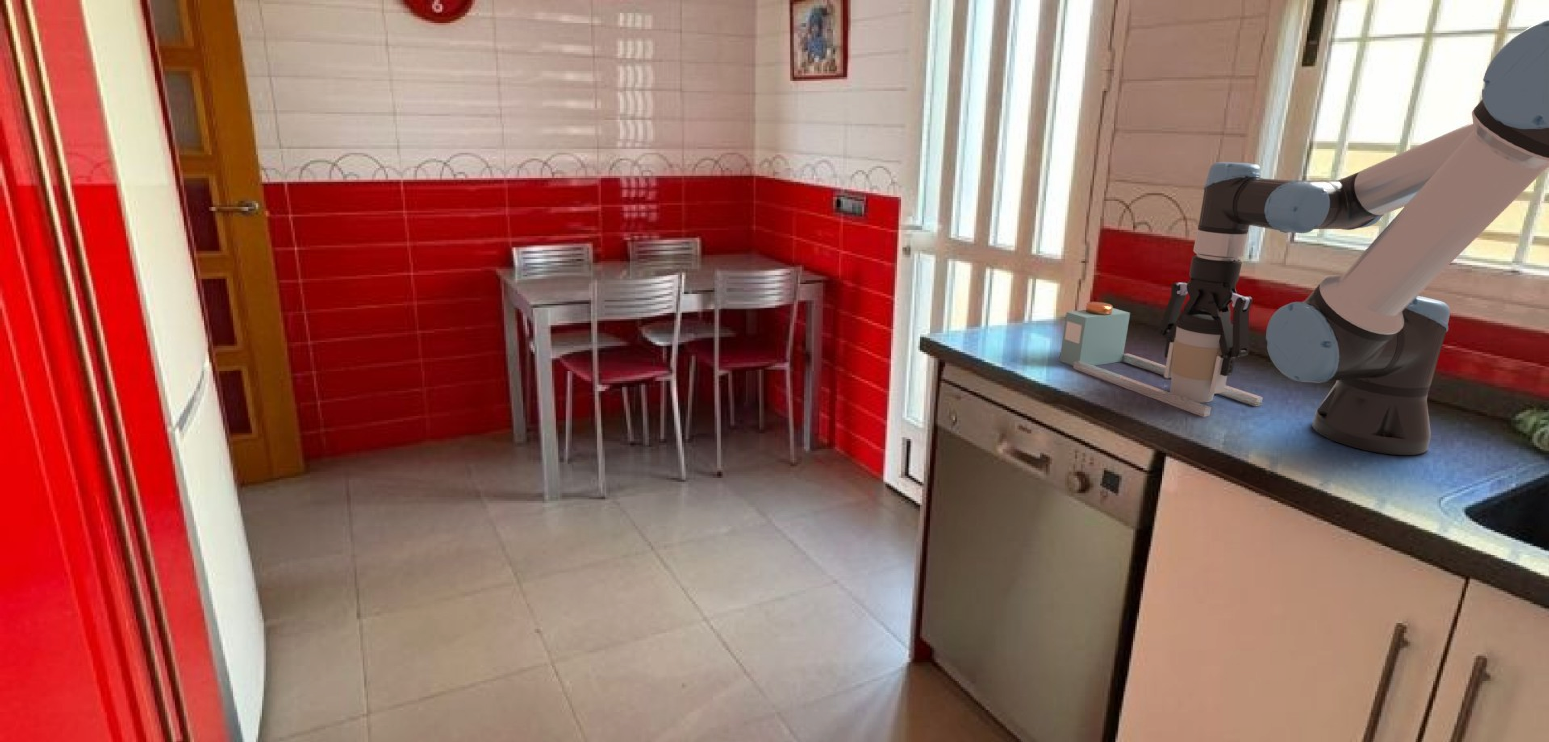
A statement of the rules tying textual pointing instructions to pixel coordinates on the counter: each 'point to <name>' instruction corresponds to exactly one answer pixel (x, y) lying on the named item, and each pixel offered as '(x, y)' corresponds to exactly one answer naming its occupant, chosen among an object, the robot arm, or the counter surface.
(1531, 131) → the robot arm
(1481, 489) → the counter surface
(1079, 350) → the cabinet
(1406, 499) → the counter surface
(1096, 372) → the parallel base rails
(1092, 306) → the knob
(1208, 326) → the coffee cup
